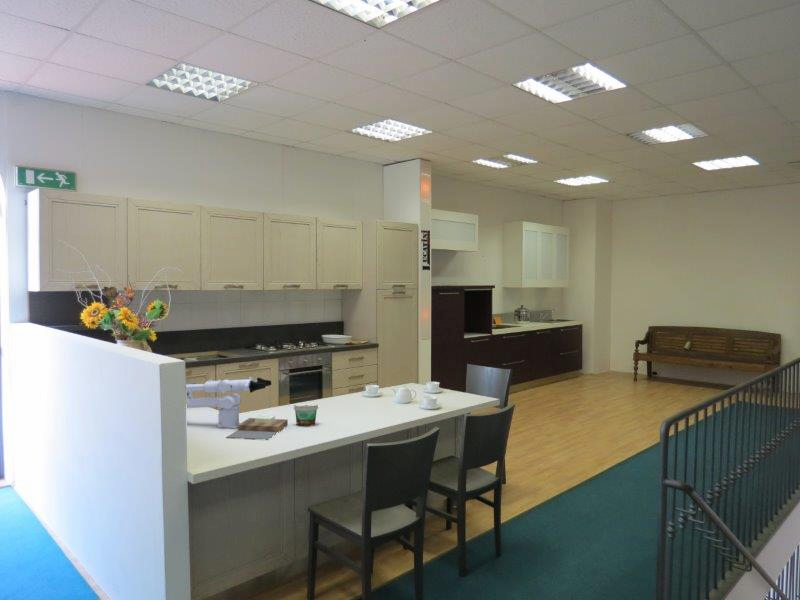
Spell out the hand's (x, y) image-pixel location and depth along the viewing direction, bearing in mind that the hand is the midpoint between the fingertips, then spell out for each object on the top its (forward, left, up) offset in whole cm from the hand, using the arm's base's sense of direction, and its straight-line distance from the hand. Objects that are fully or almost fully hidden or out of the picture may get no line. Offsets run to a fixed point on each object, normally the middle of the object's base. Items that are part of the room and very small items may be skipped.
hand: (268, 384), depth 275 cm
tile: (-2, +1, -19) cm, 19 cm away
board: (-2, -1, -22) cm, 22 cm away
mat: (-2, -15, -22) cm, 26 cm away
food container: (+17, +8, -22) cm, 29 cm away
